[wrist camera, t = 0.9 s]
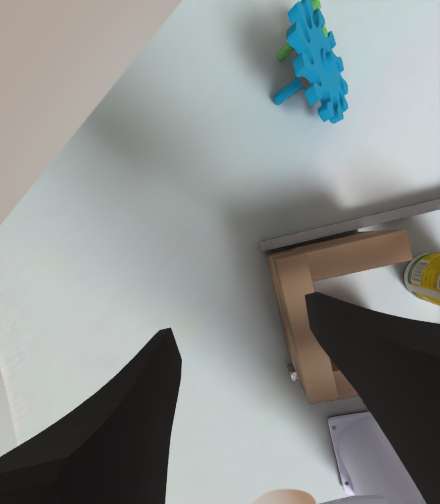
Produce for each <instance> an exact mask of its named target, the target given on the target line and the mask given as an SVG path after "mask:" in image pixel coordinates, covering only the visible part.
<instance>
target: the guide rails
mask: <svg viewBox="0 0 440 504" xmlns="http://www.w3.org/2000/svg"><path fill="white" fill-rule="evenodd" d="M439 209H440V199H436V200H432V201H428V202H423V203H419V204H415V205H411V206H407V207H403V208H399V209H394V210H390V211H386V212H382V213H378V214H374V215H370V216H365V217H361V218H357V219H353V220H349V221H345V222H341V223H336V224H332V225H328V226H324V227H320V228H316V229H312V230H307V231H303V232H299V233H295V234H291V235H287V236H283V237H278V238H274V239H270V240H266V241H262V242H259V247H260V251H266V250H270V249H275V248H279V247H283V246H287V245H292V244H296V243H300V242H304V241H308V240H313V239H317V238H321V237H325V236H330V235H334V234H338V233H342V232H347V231H351V230H355V229H359V228H363V227H368V226H372V225H376V224H380V223H385V222H389V221H393V220H397V219H401V218H406V217H410V216H414V215H418V214H423V213H427V212H431V211H435V210H439ZM288 369H289V373H290V376H291V378H292V381H298V380H299V378H298V376H297V374H296V371H295V369H294V366H293V364H290V365H288Z"/></svg>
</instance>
